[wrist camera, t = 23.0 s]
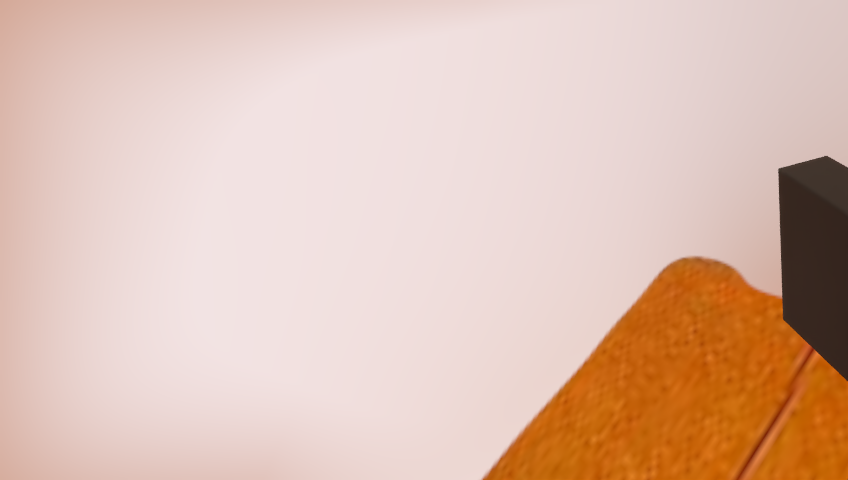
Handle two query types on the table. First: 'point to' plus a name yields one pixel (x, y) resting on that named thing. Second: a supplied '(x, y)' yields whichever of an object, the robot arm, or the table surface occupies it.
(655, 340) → the table surface
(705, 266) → the table surface
